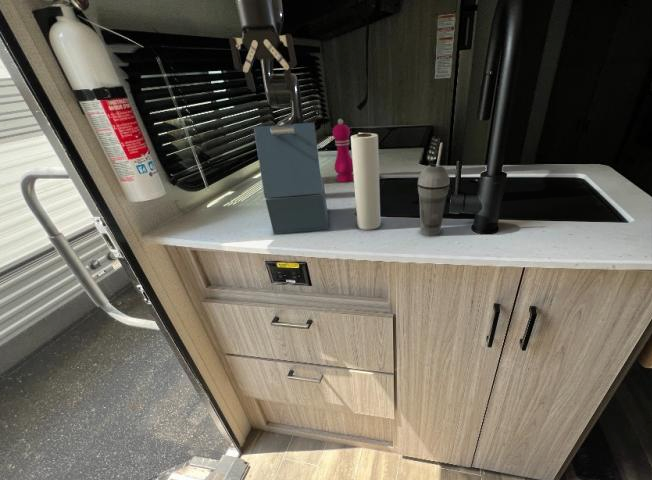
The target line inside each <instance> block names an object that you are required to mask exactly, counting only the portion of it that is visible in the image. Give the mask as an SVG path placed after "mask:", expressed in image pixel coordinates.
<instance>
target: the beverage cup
mask: <svg viewBox="0 0 652 480" xmlns="http://www.w3.org/2000/svg"><path fill="white" fill-rule="evenodd" d="M443 144H444V143H443V142H440V144H439V149H438V155H437V161H436V163H435V164H429V165H427V166H425V167H424V168H423V169H422V170H421V172H420V174H419V176H418V179H417V184H416V185H417V192H418V198H419V199H418V200H419V220H420V221H419V222H420V223H419V225H420V233H421V234H422V235H423V236H426V237H436V236H438V235H439V234H440V232H441V228H442V224H443V218H444V213H445V208H446V207H445V206H446V202H447V196H448V193H449V190H450V186H451V183H450V181H451V180H450V179H451V178H450V175H449V172H448V170H447V169H446V168H445V167H444V166H443V165H441V164H440V161H441V156H442V150H443Z"/></svg>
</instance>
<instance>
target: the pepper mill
mask: <svg viewBox="0 0 652 480" xmlns="http://www.w3.org/2000/svg"><path fill="white" fill-rule="evenodd" d="M350 135H351V130H350V128H349V126H348V125H347V124H344V120H343V119H342V118H338V120H337V124H336V125H334V127H333V128H332V136H333V138H334V139H335V140H334V142H335V143H334V145H335V146H336V150H337V151H336V153H337V154H336V159H335V162H334V172H336V174H337V175H336V180H337V182H339V183H349V182H350V183H351V182H354V173H353V160H352V155H350V151H349V145H350V139H349V138H350V137H351V136H350Z"/></svg>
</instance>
